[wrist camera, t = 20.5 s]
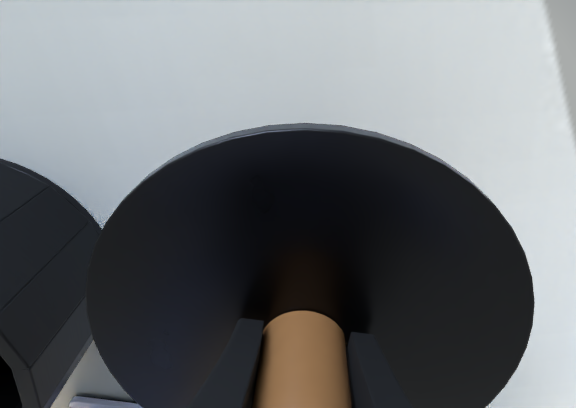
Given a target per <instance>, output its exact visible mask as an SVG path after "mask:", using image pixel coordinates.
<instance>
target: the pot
mask: <svg viewBox="0 0 576 408" xmlns="http://www.w3.org/2000/svg"><path fill="white" fill-rule="evenodd" d="M101 232H102V230H101V228H100V227H99V225H98V224H97V222H96V221H95V220H94V219H93V218H92V216H91V215H90V214H89V213H88V212H87V210H86V209H84V208H83V207H82V206H81V205H80V204H79V203H78V202H77V201H76V200H75V199H74V198H73V197H72V196H70V195H69V194H68V193H67V192H66V191H64V190H63V189H62V188H60V187H59V186H57V185H56V184H54V183H53V182H51V181H50V180H48V179H47V178H45V177H43V176H41V175H39V174H37V173H36V172H34V171H32V170H30V169H27V168H25V167H22V166H20V165H18V164H15V163H12V162H9V161H6V160H2V159H0V408H50V407H51V405H52V404H53V402H54V401H55V399H56V397H57V396H58V394H59V393H60V391H61V390H62V388H63V386H64V385H65V383H66V382H67V380H68V379H69V377H70V375H71V374H72V372H73V371H74V369H75V368H76V366H77V364H78V363H79V361H80V360H81V358H82V357H83V355H84V353H85V352H86V350H87V349H88V347H89V346H90V344H91V342H92V341H93V336H92V333H91V329H90V325H89V321H88V316H87V308H86V294H85V291H86V281H87V272H88V266H89V263H90V259H91V256H92V252H93V249H94V246H95V244H96V242H97V240H98V238H99V236H100V234H101Z"/></svg>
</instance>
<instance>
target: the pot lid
mask: <svg viewBox="0 0 576 408" xmlns="http://www.w3.org/2000/svg"><path fill="white" fill-rule="evenodd" d="M85 294H86V308H87V316H88V321H89V325H90V329H91V333H92V336H93V339H94V341H95V344H96V346H97V348H98V351H99V353H100V355H101V357H102V359H103V360H104V362H105V364H106V366H107V367H108V369H109V371H110V372H111V374H112V375H113V376H114V378H115V379H116V380H117V381H118V383H119V384H120V385H121V387H122V388H123V389H124V390H125V391H126V392H127V393H128V394H129V395H130V396H131V397H132V398H133V399H134V400H135V401H136V402H137V403H138V404H139V405H140V406H141V407H142V408H187V407H188V405H189V404H190V402H191V401H192V400H193V398H194V397H195V395H196V394H197V392H198V391H199V390H200V388H201V387H202V385H203V384H204V382H205V381H206V379H207V377H208V376H209V374H210V373H211V371H212V369H213V368H214V366H215V365H216V363H217V361H218V360H219V358H220V356H221V354H222V353H223V351H224V349H225V347H226V345H227V344H228V342H229V340H230V338H231V336H232V333H233V331H234V329H235V326H236V324H237V321H238V320H240V319H241V318H245V319H253V320H261V321H264V325H263V333H262V341H261V348H260V355H259V362H258V369H257V374H256V379H255V384H254V390H253V397H252V404H251V408H353V405H352V396H351V386H350V376H349V367H348V357H347V346H348V342H349V338H350V335H351V332H357V333H365V334H373V335H374V336H375V337H376V339H377V341H378V343H379V345H380V347H381V349H382V351H383V353H384V355H385V357H386V359H387V361H388V363H389V365H390V367H391V369H392V370H393V372H394V374H395V376H396V378H397V380H398V382H399V383H400V385H401V387H402V389H403V390H404V392H405V394H406V396H407V397H408V399H409V401H410V402H411V404H412V406H413V407H414V408H485V407H486V406H487V405H489V404H490V403H491V402H492V400H493V399H494V398H495V397H496V396H497V395H498V394H499V392H500V391H501V390H502V389H503V388H504V387H505V385H506V384H507V382H508V381H509V379H510V378H511V376H512V375H513V373H514V372H515V370H516V369H517V367H518V365H519V363H520V361H521V358H522V356H523V354H524V352H525V350H526V348H527V344H528V340H529V336H530V333H531V329H532V325H533V314H534V292H533V282H532V276H531V272H530V269H529V265H528V262H527V258H526V255H525V252H524V250H523V248H522V246H521V244H520V242H519V240H518V238H517V236H516V234H515V232H514V230H513V228H512V227H511V226H510V224H509V223H508V222H507V220H506V219H505V218H504V216H503V215H502V214H501V212H500V211H499V210H498V208H497V207H496V206H495V205H494V204H493V202H492V201H491V200H490V199H489V198H488V197H487V196H486V195H485V194H484V193H483V192H482V191H481V190H480V189H479V188H478V187H477V186H475V185H474V184H473V183H472V182H471V181H470V180H469V179H468V178H467V177H466V176H464V175H463V174H461V173H460V172H459V171H457V170H456V169H454V168H453V167H451V166H450V165H449V164H447V163H446V162H444V161H443V160H441V159H440V158H438V157H436V156H434V155H432V154H430V153H428V152H426V151H424V150H422V149H420V148H418V147H416V146H414V145H412V144H409V143H407V142H404V141H401V140H398V139H395V138H392V137H389V136H386V135H383V134H380V133H377V132H372V131H367V130H362V129H357V128H352V127H347V126H342V125H327V124H312V123H297V124H282V125H268V126H263V127H257V128H252V129H247V130H242V131H237V132H233V133H230V134H227V135H224V136H221V137H218V138H215V139H212V140H209V141H206V142H203V143H201V144H199V145H197V146H195V147H193V148H191V149H189V150H187V151H185V152H183V153H181V154H179V155H177V156H175V157H173V158H172V159H170V160H169V161H167V162H166V163H165V164H163V165H162V166H160V167H159V168H157V169H156V170H155V171H153V172H152V173H150V174H149V175H148V176H147V177H146V178H145V179H144V180H143V181H142V182H140V183H139V184H138V185H137V186H136V187H135V188H134V189H133V190H132V191H131V192H130V193H129V194H128V195H127V196H126V197H125V198H124V199H123V201H122V202H121V203H120V204H119V206H118V207H117V208H116V210H115V211H114V212H113V214H112V215H111V217H110V218H109V219H108V221H107V222H106V224H105V226H104V228H103V230H102V232H101V234H100V236H99V238H98V240H97V242H96V244H95V246H94V249H93V252H92V256H91V259H90V263H89V266H88V272H87V281H86V291H85Z"/></svg>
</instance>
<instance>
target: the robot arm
mask: <svg viewBox="0 0 576 408" xmlns="http://www.w3.org/2000/svg"><path fill="white" fill-rule="evenodd" d="M263 325H264V321H261V320H253V319H245V318H241V319H240V320H238V321H237V324H236V326H235V329H234V331H233V333H232V336H231V338H230V340H229V342H228V344H227V345H226V347H225V349H224V351H223V353H222V354H221V356H220V358H219V360H218V361H217V363H216V365H215V366H214V368H213V369H212V371H211V373H210V374H209V376H208V377H207V379H206V381H205V382H204V384H203V385H202V387H201V388H200V390H199V391H198V392H197V394H196V395H195V397H194V398H193V400H192V401H191V402H190V404H189V405H188V407H187V408H251V404H252V397H253V390H254V384H255V379H256V374H257V369H258V362H259V355H260V348H261V341H262V333H263ZM347 357H348V367H349V376H350V386H351V396H352V405H353V408H414V407H413V406H412V404H411V402H410V401H409V399H408V397H407V396H406V394H405V392H404V390H403V389H402V387H401V385H400V383H399V382H398V380H397V378H396V376H395V374H394V372H393V370H392V369H391V367H390V365H389V363H388V361H387V359H386V357H385V355H384V353H383V351H382V349H381V347H380V345H379V343H378V341H377V339H376V337H375V336H374V335H373V334H365V333H357V332H351V335H350V338H349V342H348V346H347ZM69 406H70V408H142V407H141V406H140V405H139V404H137V403H129V402H121V401H113V400H105V399H97V398H89V397H81V396H76V397H73V398H72V400H71V401H70V403H69Z"/></svg>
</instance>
